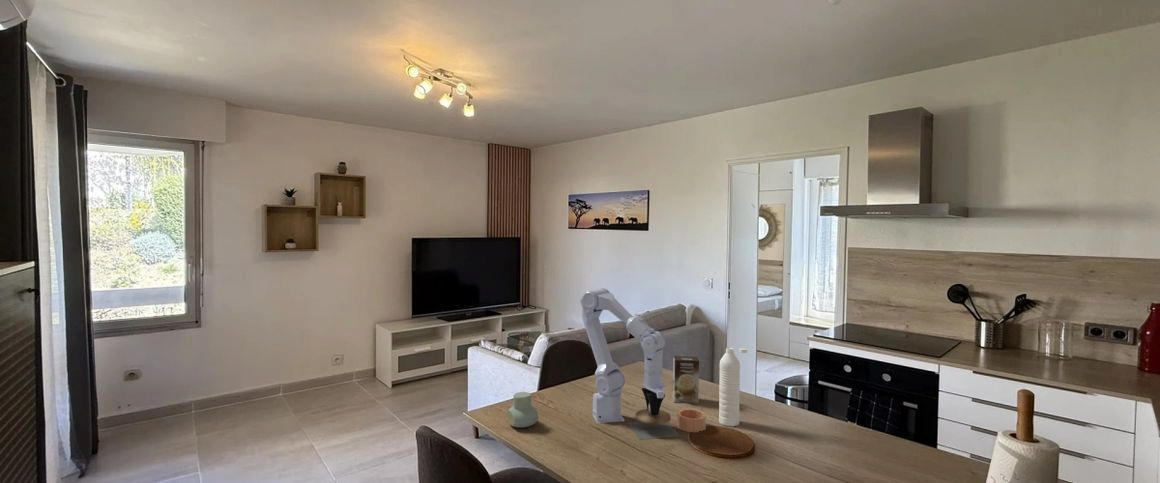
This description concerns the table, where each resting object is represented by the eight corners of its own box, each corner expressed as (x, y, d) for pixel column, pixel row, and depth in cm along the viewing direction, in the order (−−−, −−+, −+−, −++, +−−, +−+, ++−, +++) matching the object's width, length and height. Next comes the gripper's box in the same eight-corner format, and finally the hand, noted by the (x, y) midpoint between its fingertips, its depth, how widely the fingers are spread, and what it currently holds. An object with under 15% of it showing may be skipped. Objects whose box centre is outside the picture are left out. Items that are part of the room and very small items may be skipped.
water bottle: (719, 425, 158) (719, 349, 157) (718, 418, 164) (719, 345, 164) (747, 428, 156) (748, 351, 155) (745, 420, 162) (746, 346, 162)
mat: (639, 441, 147) (639, 439, 146) (627, 424, 159) (627, 422, 159) (680, 437, 149) (680, 436, 149) (665, 421, 162) (665, 419, 162)
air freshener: (505, 421, 162) (505, 391, 162) (528, 416, 166) (528, 387, 165) (516, 433, 152) (516, 401, 152) (540, 428, 156) (540, 397, 156)
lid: (641, 425, 148) (641, 412, 148) (631, 412, 158) (631, 399, 158) (675, 423, 150) (675, 409, 150) (663, 409, 160) (663, 397, 160)
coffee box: (673, 403, 179) (674, 359, 178) (672, 397, 185) (672, 355, 185) (699, 403, 178) (699, 360, 177) (696, 397, 184) (696, 356, 184)
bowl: (683, 434, 151) (683, 420, 151) (673, 423, 160) (673, 409, 160) (710, 432, 153) (710, 418, 153) (698, 421, 162) (698, 407, 162)
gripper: (673, 377, 147) (673, 421, 148) (657, 363, 161) (657, 403, 162) (651, 378, 146) (651, 422, 146) (637, 364, 160) (637, 405, 161)
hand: (652, 412), depth 154 cm, fingers closed on lid, 3 cm apart
